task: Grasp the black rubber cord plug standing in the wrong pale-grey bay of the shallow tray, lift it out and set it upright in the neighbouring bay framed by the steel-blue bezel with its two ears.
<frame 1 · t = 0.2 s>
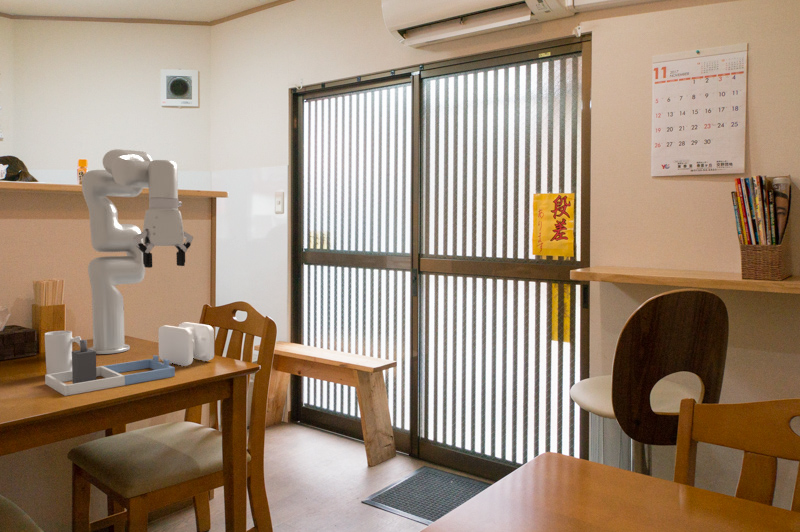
hand: (164, 266, 172), 31 cm above the table, tool pointing down, fingers open, 9 cm apart
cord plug: (84, 384, 163), resting in shallow tray
mug: (65, 375, 173), on the table
shallow tray: (111, 380, 168), on the table
cable organizer: (186, 362, 191), on the table
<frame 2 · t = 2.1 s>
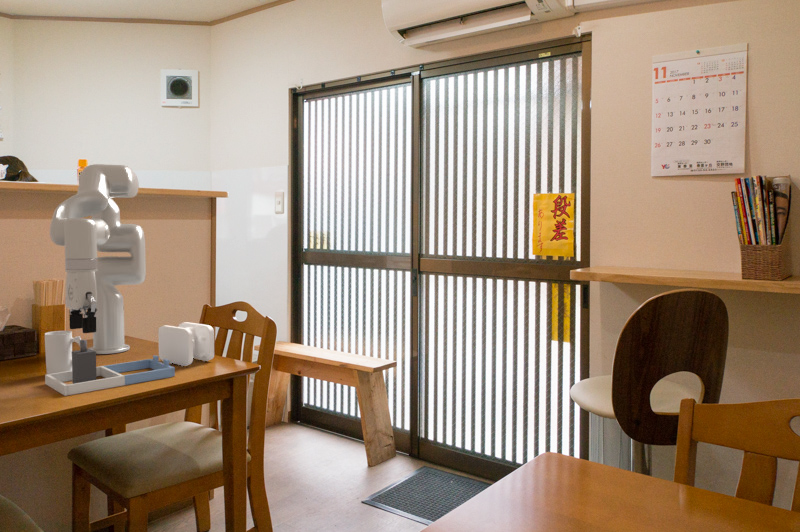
hand: (82, 330, 161), 15 cm above the table, tool pointing down, fingers open, 9 cm apart
nothing on the table moved.
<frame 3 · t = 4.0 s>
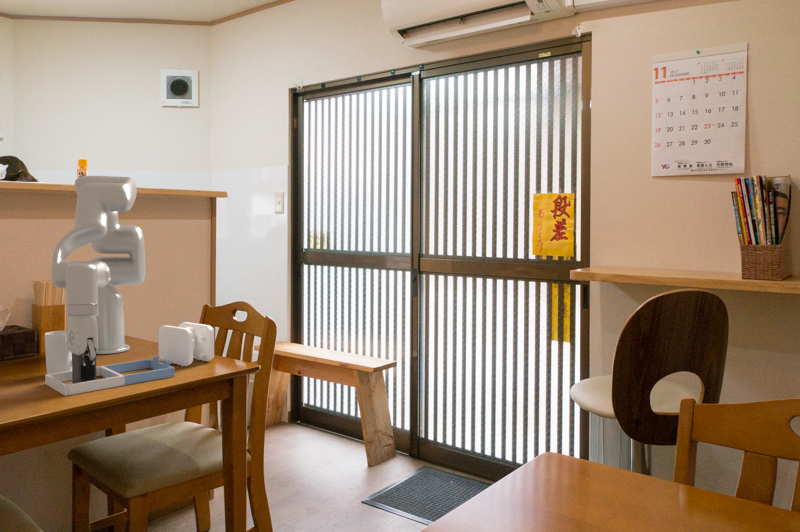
hand: (84, 377, 163), 2 cm above the table, tool pointing down, fingers closed on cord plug, 4 cm apart
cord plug: (84, 384, 163), resting in shallow tray, touching gripper
everything else where it was.
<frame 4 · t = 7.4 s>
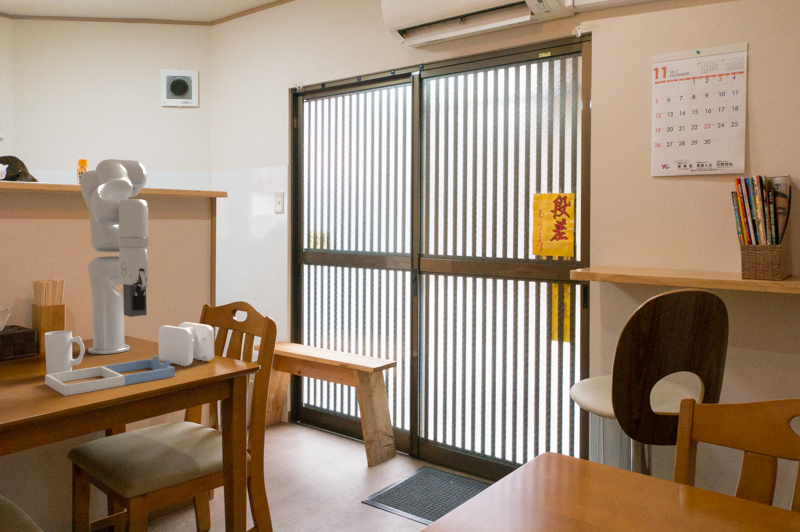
hand: (135, 308, 171), 19 cm above the table, tool pointing down, fingers closed on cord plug, 4 cm apart
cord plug: (135, 314, 172), point 17 cm above the table, touching gripper
everything else where it was.
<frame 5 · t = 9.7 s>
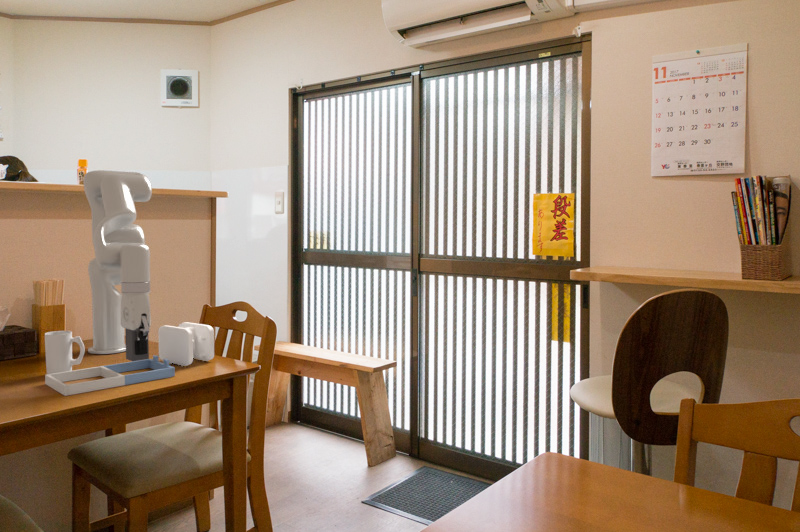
hand: (137, 352, 172), 7 cm above the table, tool pointing down, fingers closed on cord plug, 4 cm apart
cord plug: (137, 358, 172), point 5 cm above the table, touching gripper
everything else where it was.
when the fingers open (3 cm above the table, at t = 11.3 s): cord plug stays where it is, resting in shallow tray.
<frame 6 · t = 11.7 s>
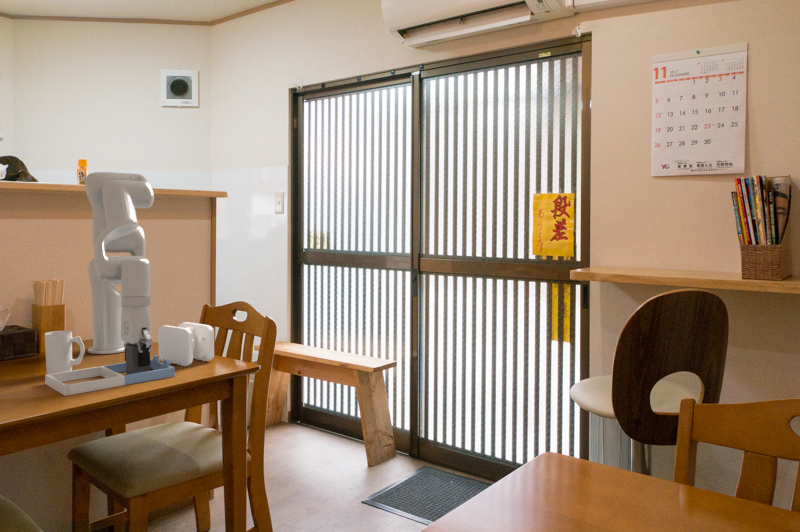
hand: (137, 363, 173), 4 cm above the table, tool pointing down, fingers open, 8 cm apart
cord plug: (137, 375, 173), resting in shallow tray
everything else where it was.
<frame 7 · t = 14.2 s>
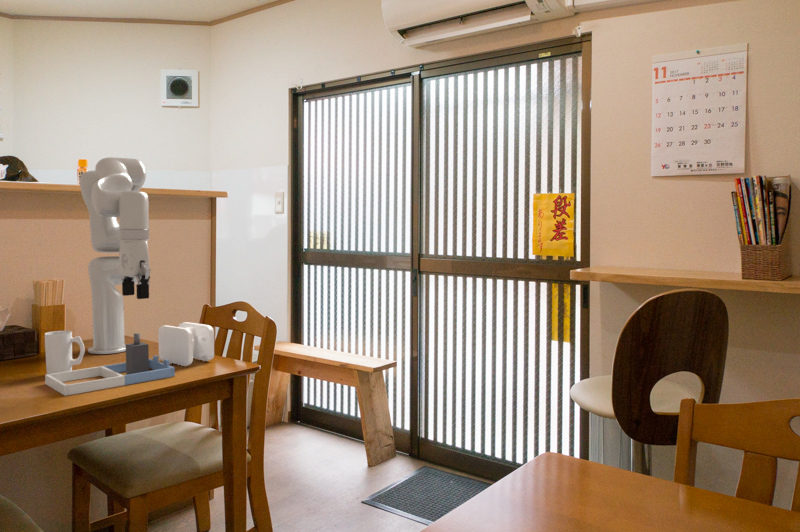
hand: (135, 296, 172), 22 cm above the table, tool pointing down, fingers open, 9 cm apart
nothing on the table moved.
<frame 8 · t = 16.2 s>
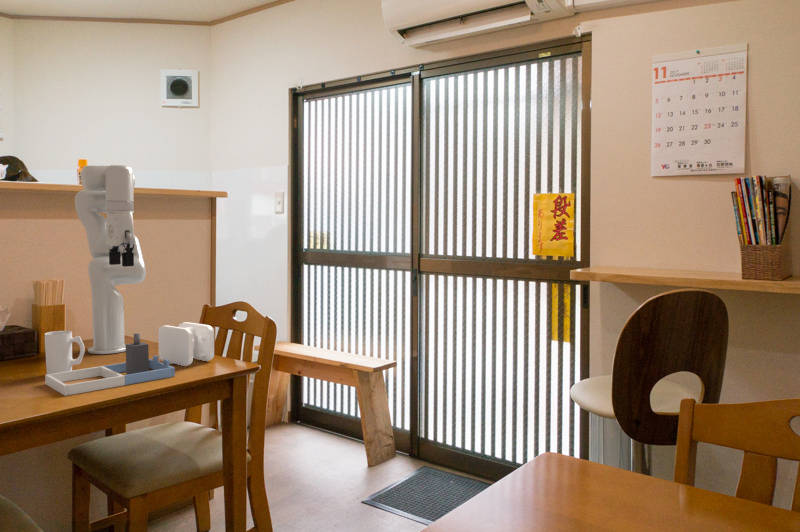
hand: (121, 265, 183), 30 cm above the table, tool pointing down, fingers open, 9 cm apart
nothing on the table moved.
at the end: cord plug inside the target area on the shallow tray (0.0 cm from its centre), point 0.0 cm above the shallow tray's base; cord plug tilted 0°; the gripper is holding nothing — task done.
